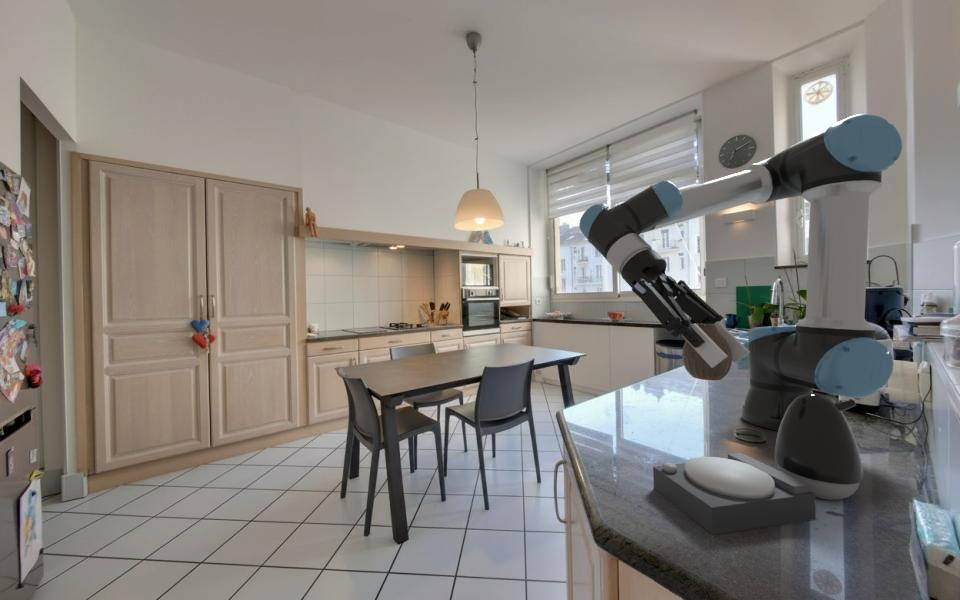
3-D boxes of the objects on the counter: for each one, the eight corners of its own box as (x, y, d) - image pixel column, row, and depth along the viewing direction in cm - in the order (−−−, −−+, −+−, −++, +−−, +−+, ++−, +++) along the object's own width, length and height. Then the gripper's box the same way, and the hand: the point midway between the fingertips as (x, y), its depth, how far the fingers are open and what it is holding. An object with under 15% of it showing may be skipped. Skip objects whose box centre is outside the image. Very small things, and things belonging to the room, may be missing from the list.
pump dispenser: (886, 512, 52) (883, 403, 52) (800, 506, 54) (797, 401, 54) (832, 477, 62) (830, 386, 62) (762, 473, 64) (759, 385, 64)
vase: (737, 384, 56) (737, 326, 56) (685, 380, 58) (685, 325, 58) (726, 375, 62) (726, 323, 62) (679, 372, 65) (680, 322, 65)
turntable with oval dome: (740, 478, 62) (739, 451, 62) (815, 519, 50) (814, 486, 50) (653, 488, 60) (653, 460, 60) (712, 534, 48) (711, 499, 48)
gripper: (653, 278, 78) (741, 367, 65) (590, 276, 68) (679, 381, 54) (678, 250, 74) (778, 339, 60) (615, 243, 63) (718, 349, 50)
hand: (731, 359), depth 57 cm, fingers closed on vase, 7 cm apart
